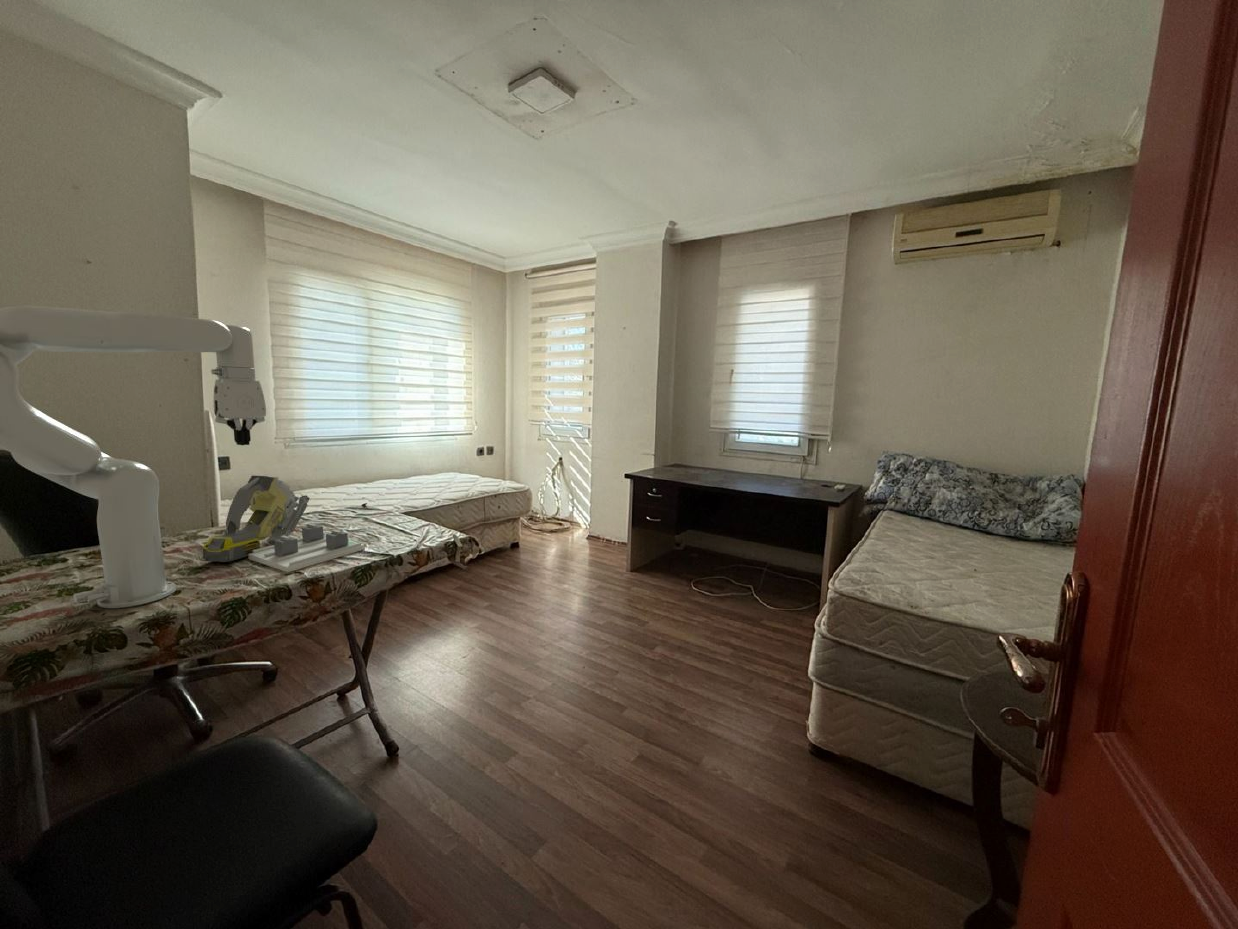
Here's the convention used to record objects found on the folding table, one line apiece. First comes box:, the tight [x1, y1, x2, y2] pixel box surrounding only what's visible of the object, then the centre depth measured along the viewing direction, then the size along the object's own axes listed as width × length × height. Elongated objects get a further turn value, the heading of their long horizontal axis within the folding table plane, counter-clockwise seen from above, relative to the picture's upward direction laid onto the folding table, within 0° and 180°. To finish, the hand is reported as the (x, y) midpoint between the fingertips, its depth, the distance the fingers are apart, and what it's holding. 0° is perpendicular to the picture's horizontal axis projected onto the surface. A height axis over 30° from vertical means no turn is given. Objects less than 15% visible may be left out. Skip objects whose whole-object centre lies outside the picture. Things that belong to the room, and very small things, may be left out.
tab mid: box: [273, 535, 298, 557], centre depth 132 cm, size 4×4×5 cm
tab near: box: [325, 529, 349, 550], centre depth 139 cm, size 4×4×5 cm
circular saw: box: [202, 475, 311, 563], centre depth 141 cm, size 10×30×25 cm
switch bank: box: [247, 532, 366, 573], centre depth 137 cm, size 22×19×2 cm
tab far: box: [301, 523, 324, 543], centre depth 144 cm, size 4×4×5 cm
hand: (243, 444), depth 124 cm, fingers closed
